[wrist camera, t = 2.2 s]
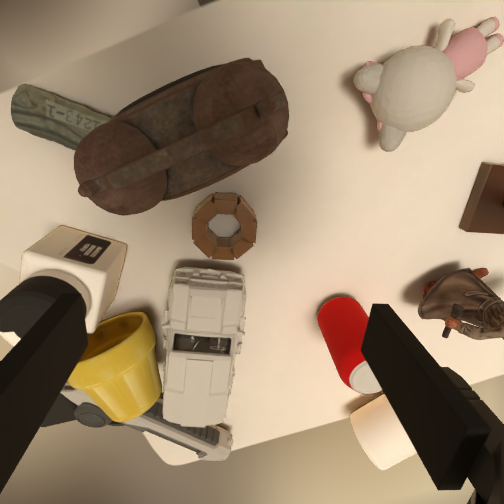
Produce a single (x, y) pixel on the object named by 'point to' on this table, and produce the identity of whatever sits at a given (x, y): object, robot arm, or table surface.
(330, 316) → the beverage can
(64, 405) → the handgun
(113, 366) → the flower pot
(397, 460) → the mug
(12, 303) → the container
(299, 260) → the table surface
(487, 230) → the peg stand
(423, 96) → the toy
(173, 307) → the toy car
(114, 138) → the alarm clock
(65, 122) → the stone
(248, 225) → the ring
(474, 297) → the figurine
